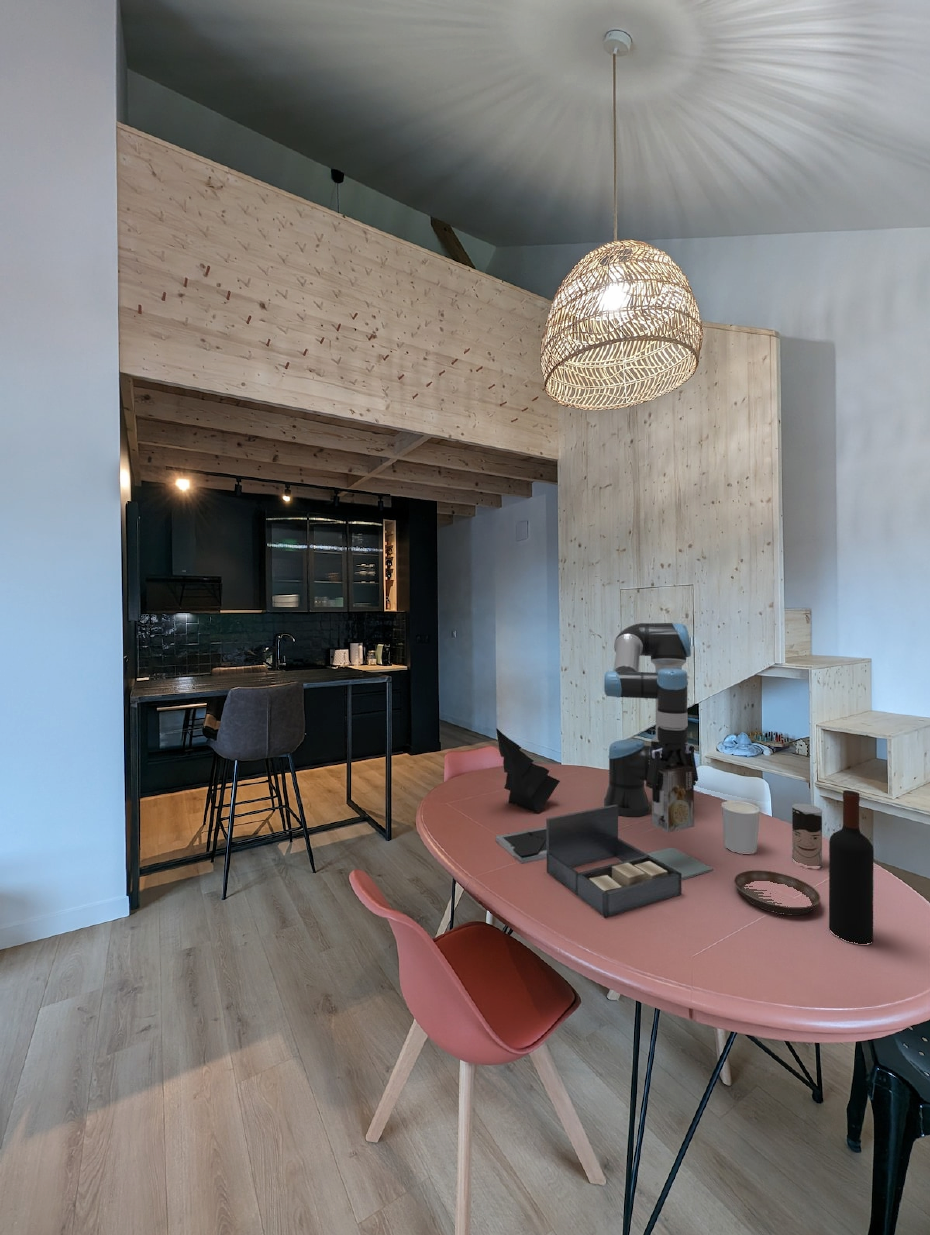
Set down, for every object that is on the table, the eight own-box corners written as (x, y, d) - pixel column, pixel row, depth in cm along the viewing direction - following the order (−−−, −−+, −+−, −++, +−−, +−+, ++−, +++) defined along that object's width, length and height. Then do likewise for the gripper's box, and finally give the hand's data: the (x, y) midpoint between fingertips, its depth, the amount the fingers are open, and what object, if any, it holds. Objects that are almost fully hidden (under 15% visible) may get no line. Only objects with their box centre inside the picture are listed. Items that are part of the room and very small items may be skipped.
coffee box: (676, 819, 149) (676, 761, 148) (694, 827, 143) (694, 767, 143) (650, 824, 145) (650, 765, 145) (668, 833, 139) (668, 771, 139)
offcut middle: (627, 886, 133) (627, 862, 133) (645, 898, 128) (645, 873, 128) (611, 891, 131) (611, 866, 131) (629, 903, 126) (628, 877, 126)
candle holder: (764, 848, 154) (764, 806, 154) (754, 859, 147) (754, 816, 147) (727, 838, 161) (727, 798, 160) (716, 849, 153) (716, 807, 153)
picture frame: (521, 866, 145) (585, 852, 154) (521, 855, 145) (585, 842, 154) (495, 843, 160) (554, 831, 168) (495, 833, 160) (554, 822, 168)
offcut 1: (607, 893, 130) (607, 875, 130) (621, 906, 124) (621, 887, 124) (589, 897, 129) (589, 878, 128) (603, 910, 123) (603, 890, 123)
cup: (786, 860, 146) (786, 806, 146) (802, 856, 149) (802, 802, 149) (811, 871, 140) (811, 814, 140) (827, 866, 143) (827, 810, 143)
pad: (671, 849, 153) (671, 847, 153) (713, 870, 141) (713, 868, 141) (634, 859, 148) (633, 857, 148) (673, 882, 135) (673, 880, 135)
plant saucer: (721, 880, 136) (721, 868, 136) (792, 881, 136) (792, 869, 136) (756, 921, 118) (756, 907, 118) (838, 922, 118) (838, 908, 118)
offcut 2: (649, 880, 136) (649, 861, 136) (667, 891, 131) (667, 871, 131) (634, 885, 134) (634, 865, 134) (651, 896, 129) (651, 875, 129)
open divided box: (615, 854, 151) (615, 804, 150) (681, 894, 129) (681, 836, 129) (546, 871, 141) (546, 818, 141) (605, 917, 120) (605, 855, 119)
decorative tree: (512, 810, 193) (468, 740, 180) (535, 779, 201) (494, 710, 188) (542, 822, 182) (498, 748, 169) (566, 789, 189) (525, 716, 176)
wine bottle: (820, 925, 116) (820, 787, 116) (853, 923, 117) (853, 786, 117) (848, 946, 109) (848, 799, 108) (882, 944, 109) (883, 798, 109)
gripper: (690, 721, 152) (690, 800, 152) (630, 728, 142) (631, 812, 143) (713, 726, 145) (713, 809, 145) (651, 734, 136) (651, 822, 136)
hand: (672, 811), depth 144 cm, fingers closed on coffee box, 9 cm apart
